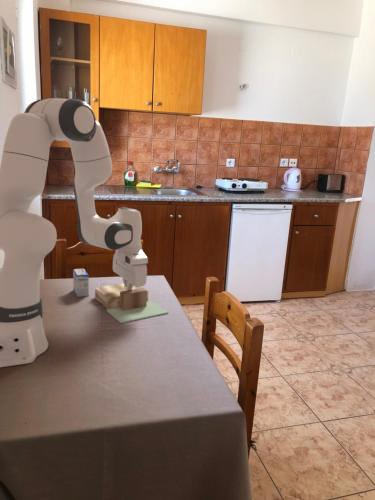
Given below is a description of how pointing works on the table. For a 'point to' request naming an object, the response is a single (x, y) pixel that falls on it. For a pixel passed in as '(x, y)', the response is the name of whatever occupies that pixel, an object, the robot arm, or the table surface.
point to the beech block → (111, 294)
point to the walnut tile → (133, 299)
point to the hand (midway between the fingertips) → (128, 290)
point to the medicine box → (80, 282)
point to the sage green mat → (136, 312)
